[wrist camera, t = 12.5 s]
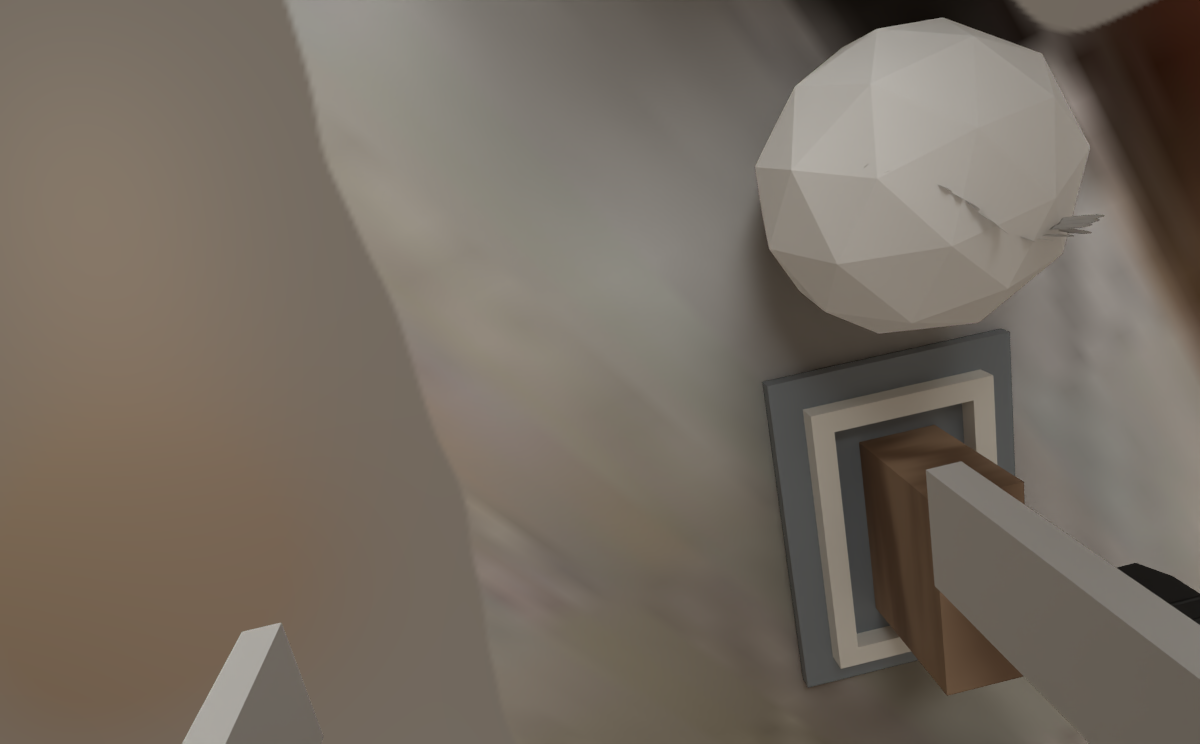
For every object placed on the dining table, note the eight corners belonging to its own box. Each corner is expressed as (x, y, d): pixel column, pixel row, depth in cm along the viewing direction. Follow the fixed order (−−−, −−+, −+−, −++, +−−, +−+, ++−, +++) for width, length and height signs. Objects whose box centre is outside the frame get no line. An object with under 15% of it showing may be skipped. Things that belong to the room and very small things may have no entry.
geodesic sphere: (1149, 50, 35) (1189, -28, 24) (1069, 346, 39) (1069, 405, 27) (830, 42, 42) (739, -21, 30) (788, 295, 46) (691, 325, 34)
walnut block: (875, 607, 48) (947, 695, 40) (858, 442, 44) (933, 503, 37) (946, 590, 48) (1030, 674, 40) (934, 424, 45) (1023, 482, 37)
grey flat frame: (762, 382, 44) (774, 392, 42) (1001, 328, 44) (1023, 337, 42) (803, 679, 49) (815, 700, 47) (1013, 627, 50) (1033, 646, 48)
